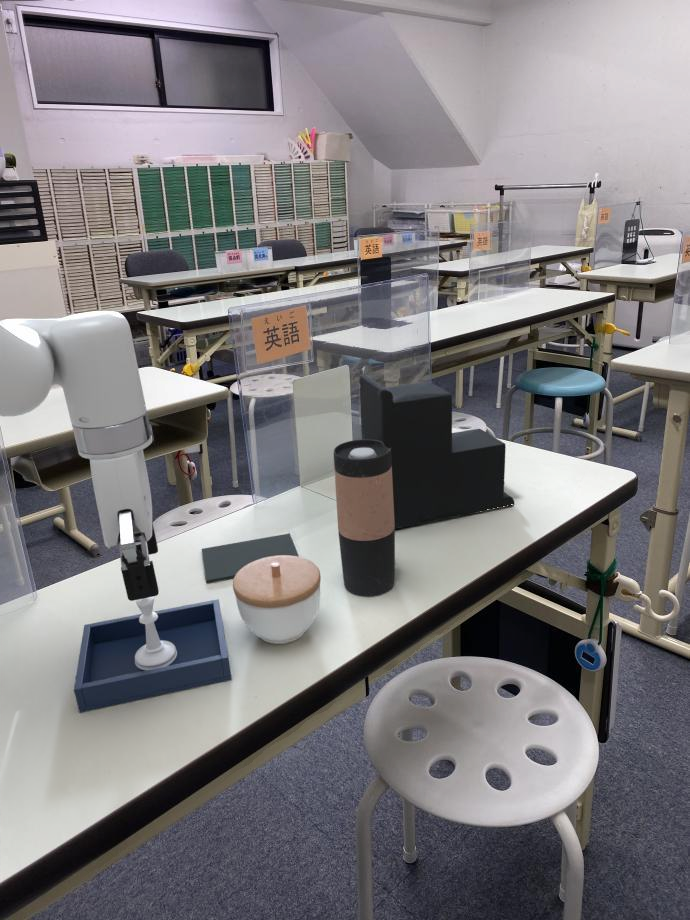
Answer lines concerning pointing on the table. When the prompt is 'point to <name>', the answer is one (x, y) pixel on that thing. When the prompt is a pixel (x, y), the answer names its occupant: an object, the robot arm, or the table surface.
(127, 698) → the tray
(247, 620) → the trinket box
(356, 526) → the travel mug
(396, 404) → the bookend
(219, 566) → the mat
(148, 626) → the chess piece
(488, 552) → the table surface
